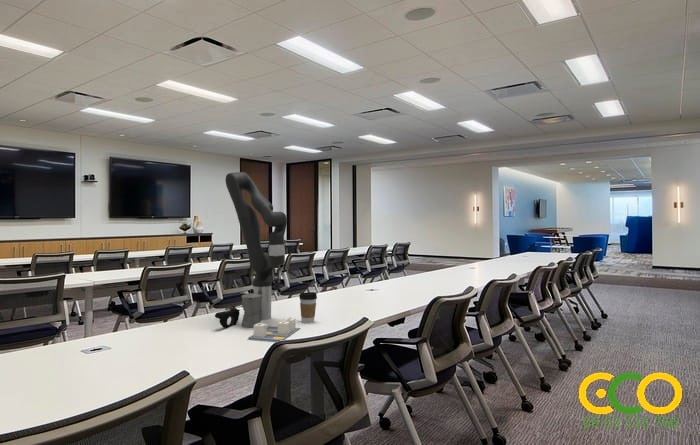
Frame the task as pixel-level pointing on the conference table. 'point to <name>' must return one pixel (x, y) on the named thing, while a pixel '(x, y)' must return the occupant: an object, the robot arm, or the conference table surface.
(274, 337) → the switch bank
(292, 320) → the white studded block
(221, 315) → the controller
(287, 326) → the cream white block
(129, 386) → the conference table surface
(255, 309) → the coffeepot
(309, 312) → the coffee cup
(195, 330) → the conference table surface
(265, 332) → the white toy brick
